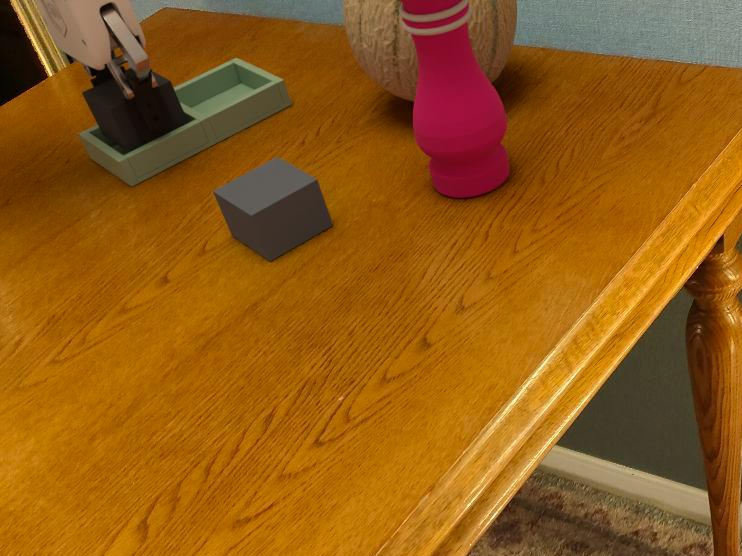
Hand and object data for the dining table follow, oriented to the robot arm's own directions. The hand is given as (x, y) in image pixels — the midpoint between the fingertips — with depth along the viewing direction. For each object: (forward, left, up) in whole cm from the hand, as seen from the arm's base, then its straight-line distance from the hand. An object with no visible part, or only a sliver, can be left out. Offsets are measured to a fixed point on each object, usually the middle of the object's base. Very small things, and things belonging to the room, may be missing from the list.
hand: (142, 123), depth 90 cm
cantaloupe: (+22, -17, -3) cm, 28 cm away
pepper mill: (+14, -30, -3) cm, 33 cm away
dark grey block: (0, 0, -1) cm, 1 cm away
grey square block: (0, -23, -3) cm, 23 cm away
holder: (+4, 0, -3) cm, 5 cm away
